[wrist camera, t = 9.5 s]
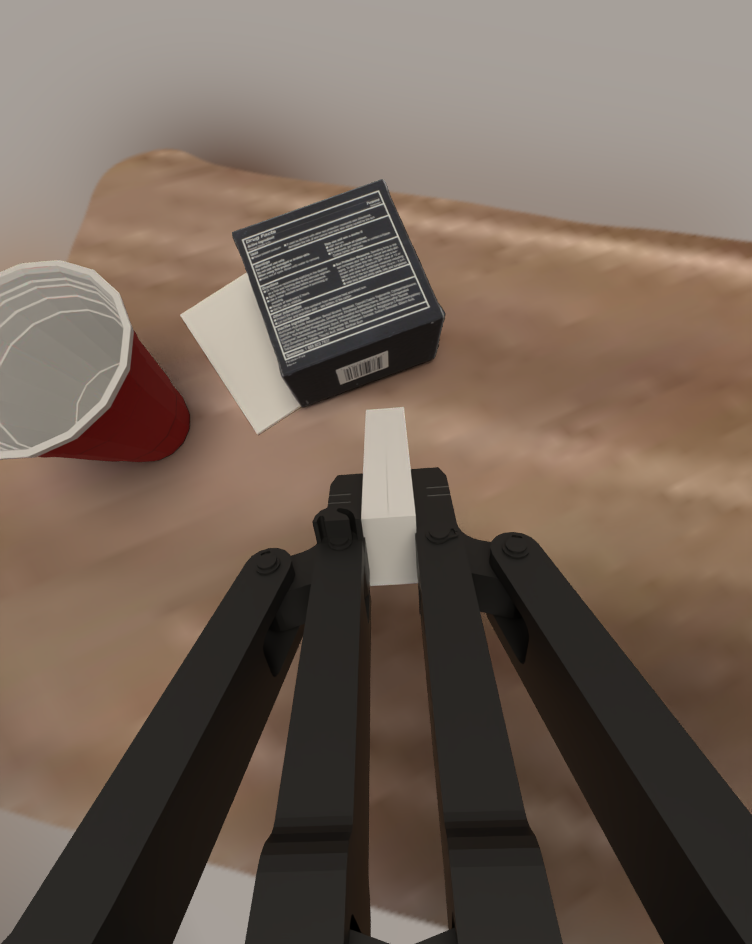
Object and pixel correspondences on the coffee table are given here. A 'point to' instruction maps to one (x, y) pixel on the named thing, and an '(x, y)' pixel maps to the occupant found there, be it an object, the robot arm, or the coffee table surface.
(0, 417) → the plastic cup
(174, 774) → the robot arm
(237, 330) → the mat
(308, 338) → the small box
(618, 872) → the coffee table surface
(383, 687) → the coffee table surface
